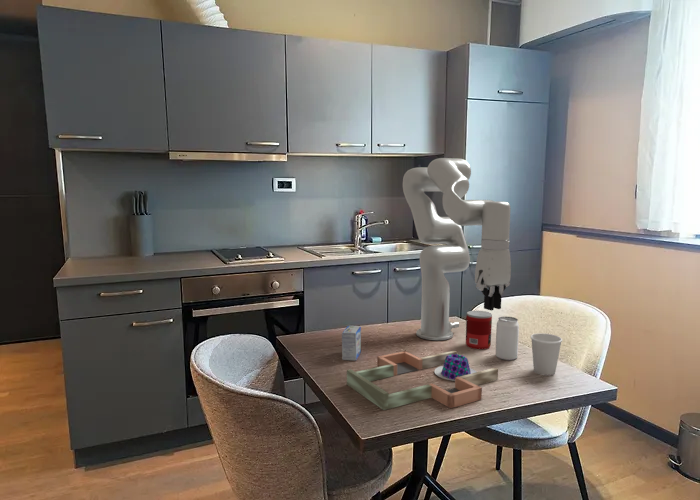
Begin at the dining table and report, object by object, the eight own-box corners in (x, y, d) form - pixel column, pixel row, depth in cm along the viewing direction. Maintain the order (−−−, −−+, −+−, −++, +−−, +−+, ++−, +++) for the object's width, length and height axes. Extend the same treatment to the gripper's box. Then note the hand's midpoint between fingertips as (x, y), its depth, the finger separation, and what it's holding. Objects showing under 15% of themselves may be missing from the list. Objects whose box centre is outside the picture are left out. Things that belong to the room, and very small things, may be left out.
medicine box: (356, 361, 150) (356, 333, 148) (341, 360, 150) (341, 332, 149) (361, 352, 157) (361, 325, 156) (347, 351, 158) (347, 325, 157)
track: (454, 360, 151) (454, 347, 150) (497, 379, 136) (498, 365, 135) (346, 384, 132) (346, 370, 132) (383, 410, 117) (384, 393, 117)
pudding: (487, 377, 138) (488, 359, 137) (455, 387, 131) (456, 368, 131) (456, 364, 148) (457, 347, 147) (425, 372, 142) (425, 354, 141)
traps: (405, 360, 150) (405, 350, 150) (481, 399, 123) (481, 387, 123) (377, 366, 145) (377, 356, 145) (450, 408, 118) (450, 396, 118)
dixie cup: (522, 368, 144) (524, 334, 143) (545, 364, 147) (547, 331, 146) (542, 378, 136) (544, 343, 135) (567, 375, 139) (569, 340, 138)
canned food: (494, 349, 161) (495, 316, 159) (469, 350, 160) (470, 316, 159) (486, 342, 168) (487, 310, 167) (462, 342, 168) (463, 310, 166)
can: (490, 354, 156) (492, 317, 154) (507, 352, 158) (509, 315, 156) (504, 361, 150) (506, 322, 148) (521, 359, 152) (523, 320, 150)
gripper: (504, 242, 149) (502, 303, 151) (464, 245, 141) (462, 309, 143) (525, 245, 142) (522, 308, 145) (484, 248, 134) (481, 315, 137)
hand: (492, 308), depth 144 cm, fingers closed
